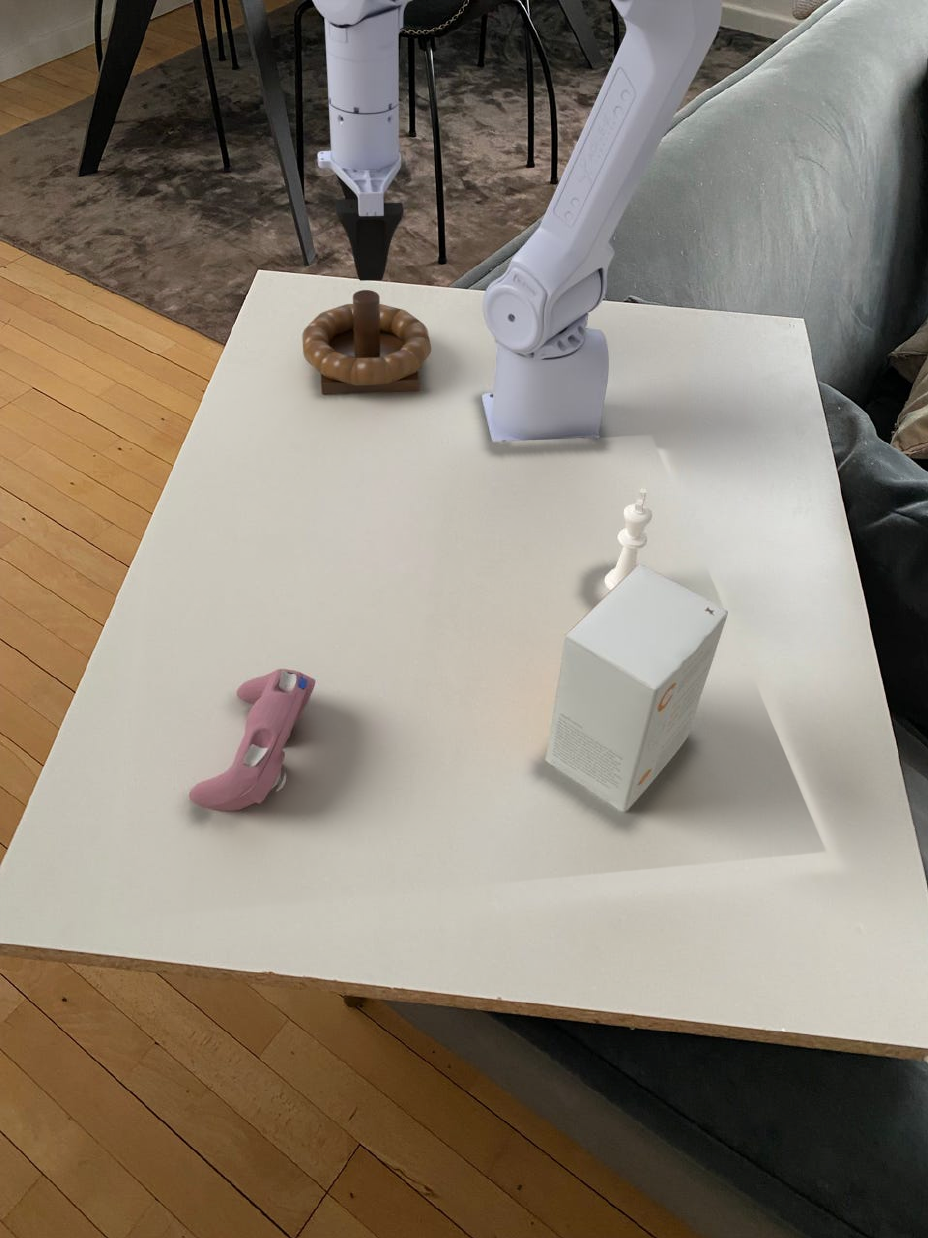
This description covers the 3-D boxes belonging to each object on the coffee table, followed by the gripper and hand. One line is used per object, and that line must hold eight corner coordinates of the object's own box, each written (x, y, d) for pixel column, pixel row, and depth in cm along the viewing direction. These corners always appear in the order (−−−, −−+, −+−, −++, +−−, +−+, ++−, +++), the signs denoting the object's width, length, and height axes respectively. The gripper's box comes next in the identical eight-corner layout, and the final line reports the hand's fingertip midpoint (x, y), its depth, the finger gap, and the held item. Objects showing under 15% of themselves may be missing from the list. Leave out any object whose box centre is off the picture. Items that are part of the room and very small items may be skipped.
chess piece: (658, 580, 81) (684, 478, 73) (645, 623, 77) (670, 521, 70) (596, 564, 82) (616, 461, 74) (580, 606, 78) (599, 503, 71)
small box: (607, 697, 72) (639, 559, 63) (687, 745, 70) (732, 609, 60) (539, 770, 68) (562, 634, 58) (621, 825, 65) (660, 691, 56)
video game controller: (247, 840, 65) (288, 793, 60) (179, 809, 64) (216, 758, 59) (296, 718, 72) (337, 667, 67) (236, 688, 71) (273, 633, 66)
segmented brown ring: (422, 318, 103) (422, 296, 101) (437, 387, 95) (437, 364, 93) (301, 322, 101) (299, 300, 100) (306, 392, 93) (304, 369, 92)
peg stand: (410, 338, 103) (411, 270, 97) (419, 391, 97) (421, 321, 91) (318, 341, 102) (314, 272, 96) (321, 394, 95) (317, 324, 90)
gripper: (311, 68, 90) (320, 221, 100) (317, 137, 80) (326, 299, 90) (393, 68, 91) (394, 220, 100) (409, 136, 81) (408, 297, 91)
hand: (367, 257), depth 95 cm, fingers open, 7 cm apart
